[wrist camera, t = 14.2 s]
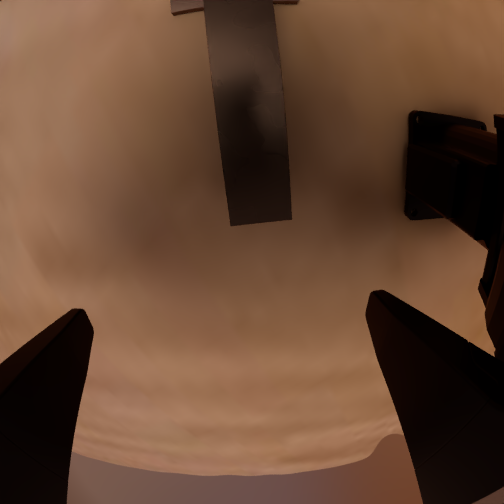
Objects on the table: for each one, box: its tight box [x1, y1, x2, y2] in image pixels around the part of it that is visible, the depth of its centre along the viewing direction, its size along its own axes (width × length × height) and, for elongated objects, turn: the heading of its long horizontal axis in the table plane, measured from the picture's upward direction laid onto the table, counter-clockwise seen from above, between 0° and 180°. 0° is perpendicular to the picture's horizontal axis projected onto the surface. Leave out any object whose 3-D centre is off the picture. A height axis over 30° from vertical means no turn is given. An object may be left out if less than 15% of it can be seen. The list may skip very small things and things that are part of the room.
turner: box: [170, 0, 299, 226], centre depth 9 cm, size 6×17×4 cm, turn 5°
